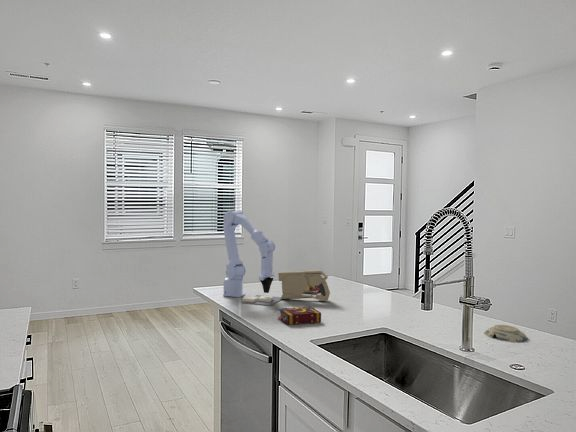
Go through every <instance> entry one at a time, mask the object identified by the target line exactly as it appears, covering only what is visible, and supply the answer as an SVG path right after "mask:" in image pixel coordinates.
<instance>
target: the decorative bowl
mask: <svg viewBox="0 0 576 432" xmlns="http://www.w3.org/2000/svg"><path fill="white" fill-rule="evenodd" d="M483 334H484V335H485V336H486V337H488V338H489V339H493V338H494V336H495V337H496V340H497V341H501V342H507V343H523V342H526V341H529V340H528V339H529V338H528V336H527V335H526V334H525V333H524V332H523V331H521V330H519V329H518V328H517V327H515V326H512V325H506V324H495V325H494V326H492V327H490V328H488V329H486V330H485V332H484V333H483Z"/></svg>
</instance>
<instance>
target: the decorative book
mask: <svg viewBox="0 0 576 432" xmlns="http://www.w3.org/2000/svg"><path fill="white" fill-rule="evenodd" d="M278 311H279V313H280V314H279V316H278V317H277V320H280V321H282V322H284V324H285V325H288V326H289V325H294V326H298V325H301V324H310V325H311V324H315V323H321V322H322V312H320V311H319V310H317V309H316V308H315V307H313V306H311V305H310V306H308V305H307V306H303V307H302V306H301V307H297V306H293V307H291V308H290V307H288V308H287V307H283V308H281V307H280V308H278Z"/></svg>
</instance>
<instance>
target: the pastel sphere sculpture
mask: <svg viewBox="0 0 576 432" xmlns="http://www.w3.org/2000/svg"><path fill="white" fill-rule="evenodd" d="M318 286H319V285H318ZM318 286H316V288H315V286H308V287H307V288H306V290H305V291H304V292H303V293H304V294H305V293H319V292H320V291H319V289H320V288H319V287H318ZM320 293H321V292H320Z"/></svg>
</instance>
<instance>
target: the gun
mask: <svg viewBox="0 0 576 432" xmlns="http://www.w3.org/2000/svg"><path fill="white" fill-rule="evenodd" d="M277 275H278V282H281V291H282V295H281V296H280V297H281V299H282V300H299V299H314V300H318V301H323V302H327V303H328V300H329V298H330V294H331V291H330V288H329V286H328V283H327V281H326V280H327V279H328V277H329V276H328V275H327V274H326V273H325V272H324V271H323V270H321V269H316V270H314V269H312V270H303V271H302V270H298V271H294V270H293V271H279V272H278V274H277ZM318 285H319V286H318ZM308 286H315V288H316V286H318V287H319V288H320V289H319V291H320V293H317V294H316V293H312V294H304V293H305V292H304V291H305V290H306V288H307V287H308Z"/></svg>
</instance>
